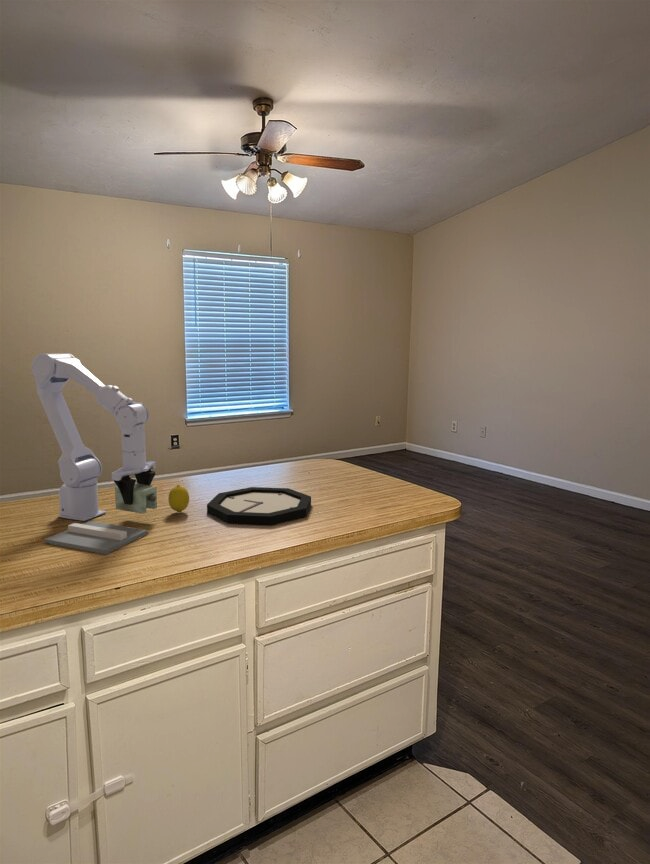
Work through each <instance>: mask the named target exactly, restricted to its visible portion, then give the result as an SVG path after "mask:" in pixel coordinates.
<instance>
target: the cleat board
mask: <svg viewBox="0 0 650 864" xmlns="http://www.w3.org/2000/svg"><path fill="white" fill-rule="evenodd" d="M147 535H148V530H147V529H143V528H137V527H130V526H124V525H119V524H111V523H105V522H98V521H93V520H88V521H85V522H84V523H78V522H74V523H71V524H68V525H67V529H66V530H64V531H61V532H59V533H56V534H54V535H50V536H48V537H45V538H44V543H45V542H46V543H45V544H47V543H49V544H48V545H54V546H60V547H64V548H69V549H76V550H81V551H87V552H91V553H96V554H101V555H107V554H109V553H112V552H113V551H116V550H118V549H119V548H121V547H124V546H126V545H128V544H131V543H132V542H134V541H136V540H138V539H140V538H142V537H144V536H147Z"/></svg>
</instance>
